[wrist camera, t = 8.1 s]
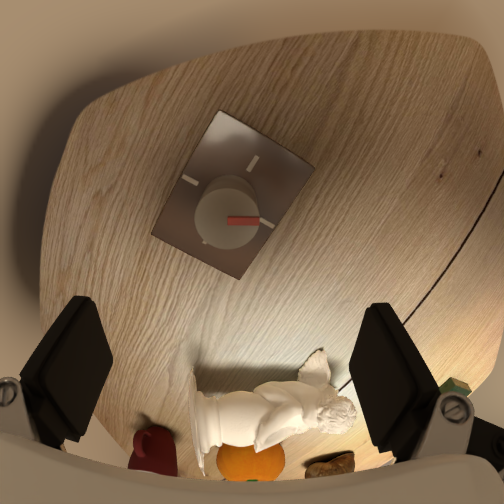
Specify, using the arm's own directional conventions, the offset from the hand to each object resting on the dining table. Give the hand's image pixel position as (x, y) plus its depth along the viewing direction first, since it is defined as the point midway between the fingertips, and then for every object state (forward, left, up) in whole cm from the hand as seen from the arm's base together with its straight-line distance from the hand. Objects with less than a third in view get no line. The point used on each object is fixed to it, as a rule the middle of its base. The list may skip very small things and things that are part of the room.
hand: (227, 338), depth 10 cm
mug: (+41, +8, -19) cm, 46 cm away
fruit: (+36, +24, -19) cm, 47 cm away
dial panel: (0, 0, -19) cm, 19 cm away
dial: (0, 0, -16) cm, 16 cm away
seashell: (+38, +45, -19) cm, 62 cm away
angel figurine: (+18, +16, -19) cm, 30 cm away
